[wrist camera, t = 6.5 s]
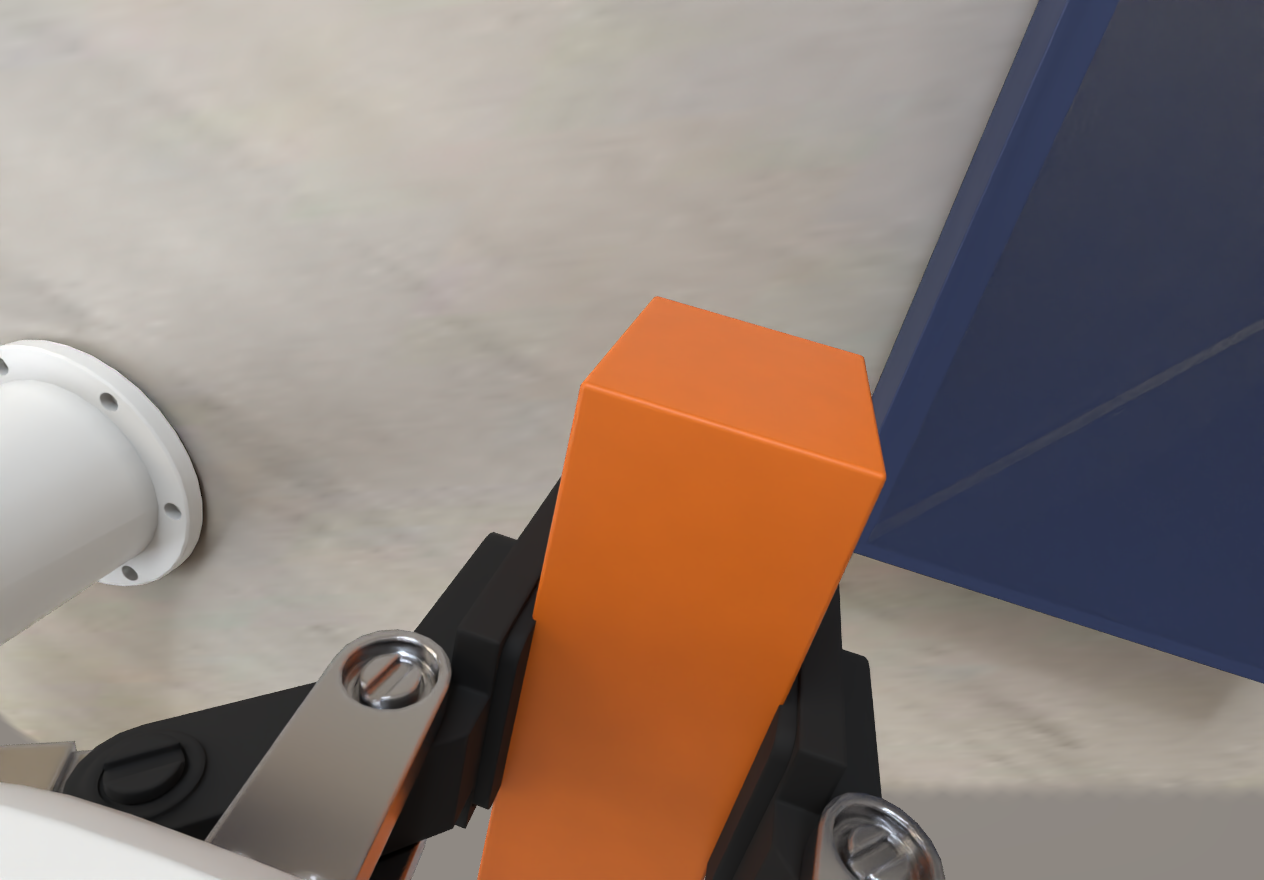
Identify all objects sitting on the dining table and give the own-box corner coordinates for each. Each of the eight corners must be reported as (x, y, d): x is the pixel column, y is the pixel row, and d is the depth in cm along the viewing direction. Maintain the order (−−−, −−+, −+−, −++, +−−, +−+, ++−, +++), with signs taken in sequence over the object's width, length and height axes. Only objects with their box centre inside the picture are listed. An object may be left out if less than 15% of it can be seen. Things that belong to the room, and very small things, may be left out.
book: (827, 501, 27) (829, 545, 24) (1152, -271, 17) (1216, -342, 14) (1278, 643, 25) (1332, 706, 23) (1934, -119, 15) (2169, -166, 13)
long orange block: (547, 730, 14) (469, 910, 11) (654, 293, 10) (579, 381, 7) (693, 783, 14) (656, 985, 11) (865, 355, 10) (889, 477, 7)
